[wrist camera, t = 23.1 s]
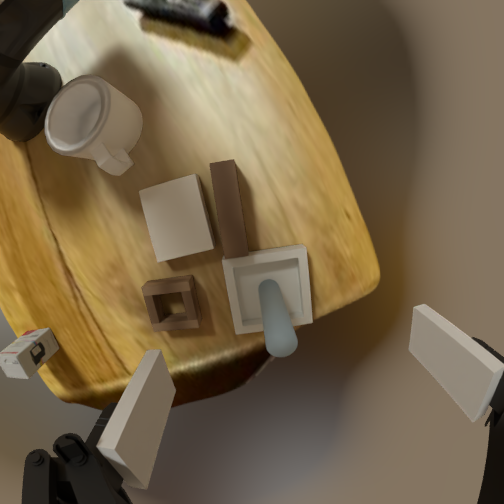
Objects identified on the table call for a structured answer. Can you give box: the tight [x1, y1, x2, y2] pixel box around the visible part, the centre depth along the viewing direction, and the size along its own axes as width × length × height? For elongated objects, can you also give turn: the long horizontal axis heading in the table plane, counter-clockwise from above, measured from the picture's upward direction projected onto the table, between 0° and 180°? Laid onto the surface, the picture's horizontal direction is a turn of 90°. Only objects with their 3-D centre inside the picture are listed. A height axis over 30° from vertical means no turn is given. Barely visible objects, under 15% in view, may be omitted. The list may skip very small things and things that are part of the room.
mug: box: [45, 75, 143, 176], centre depth 30 cm, size 14×10×11 cm
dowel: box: [258, 279, 298, 357], centre depth 32 cm, size 3×3×15 cm
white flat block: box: [139, 174, 216, 262], centre depth 37 cm, size 8×10×3 cm
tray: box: [222, 244, 313, 335], centre depth 39 cm, size 11×11×2 cm
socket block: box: [141, 275, 202, 332], centre depth 39 cm, size 7×7×3 cm
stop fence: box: [210, 160, 249, 259], centre depth 36 cm, size 3×12×4 cm, turn 8°
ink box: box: [0, 328, 59, 379], centre depth 36 cm, size 9×5×12 cm, turn 103°
